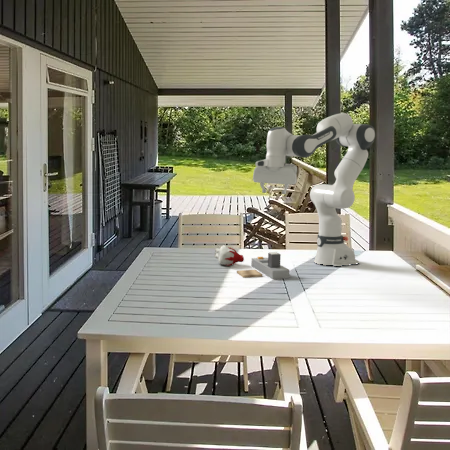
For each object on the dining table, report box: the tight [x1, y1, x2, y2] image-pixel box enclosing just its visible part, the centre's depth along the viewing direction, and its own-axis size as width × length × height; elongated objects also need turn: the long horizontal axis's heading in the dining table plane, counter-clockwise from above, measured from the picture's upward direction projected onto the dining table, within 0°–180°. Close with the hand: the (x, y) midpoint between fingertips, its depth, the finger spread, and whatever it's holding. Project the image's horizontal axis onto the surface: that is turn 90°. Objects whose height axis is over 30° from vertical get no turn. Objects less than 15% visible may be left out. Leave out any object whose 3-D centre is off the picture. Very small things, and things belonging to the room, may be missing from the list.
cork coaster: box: [236, 269, 263, 278], centre depth 244 cm, size 9×9×1 cm
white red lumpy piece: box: [214, 244, 245, 267], centre depth 263 cm, size 9×11×15 cm
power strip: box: [251, 256, 290, 280], centre depth 253 cm, size 8×32×4 cm, turn 18°
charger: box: [267, 251, 281, 268], centre depth 245 cm, size 4×4×7 cm
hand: (274, 193), depth 249 cm, fingers open, 8 cm apart
